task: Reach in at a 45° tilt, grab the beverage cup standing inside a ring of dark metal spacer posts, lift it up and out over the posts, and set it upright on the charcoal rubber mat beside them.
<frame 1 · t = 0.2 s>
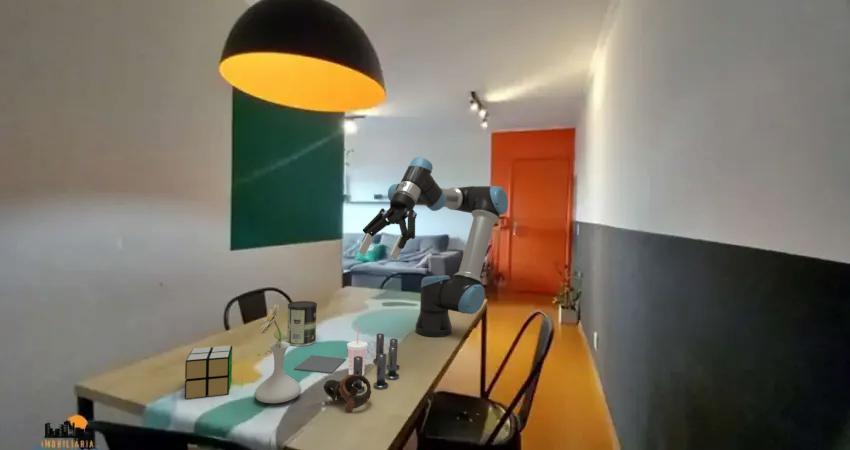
hand: (376, 255, 124), 36 cm above the table, tool tilted 35°, fingers open, 13 cm apart
beverage cup: (356, 374, 125), on the table
flower in vase: (277, 399, 106), on the table
spacer posts: (356, 373, 125), on the table
coffee can: (301, 342, 152), on the table
pottery mug: (347, 404, 105), on the table
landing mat: (321, 364, 131), on the table
puzzle cube: (209, 390, 110), on the table
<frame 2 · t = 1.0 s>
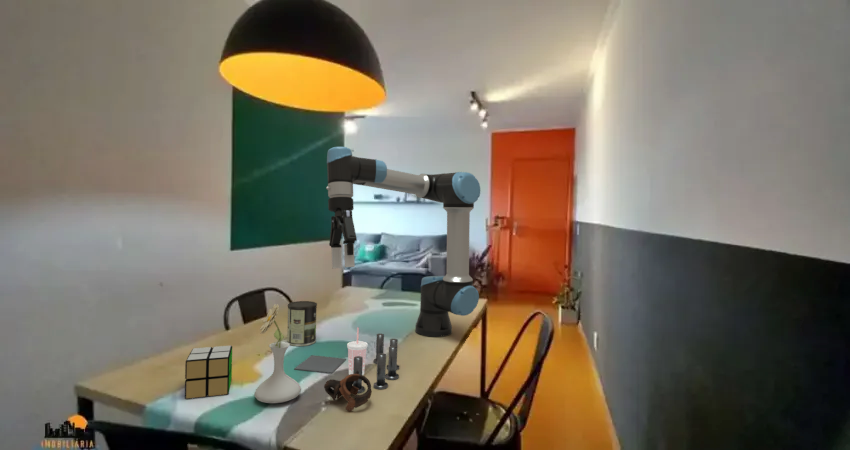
hand: (342, 267, 124), 32 cm above the table, tool pointing down, fingers open, 13 cm apart
nothing on the table moved.
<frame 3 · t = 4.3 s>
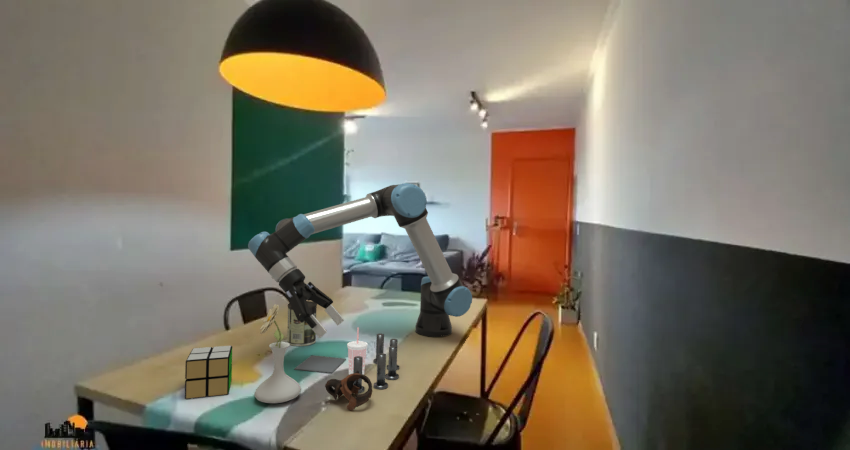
hand: (332, 328, 125), 13 cm above the table, tool tilted 45°, fingers open, 13 cm apart
nothing on the table moved.
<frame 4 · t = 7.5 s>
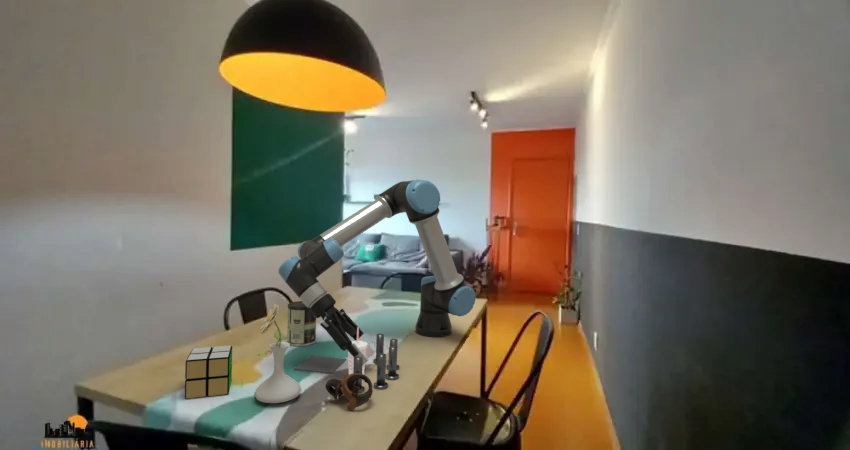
hand: (368, 358, 124), 5 cm above the table, tool tilted 45°, fingers closed on beverage cup, 6 cm apart
beverage cup: (356, 374, 125), on the table, touching gripper
everything else where it was.
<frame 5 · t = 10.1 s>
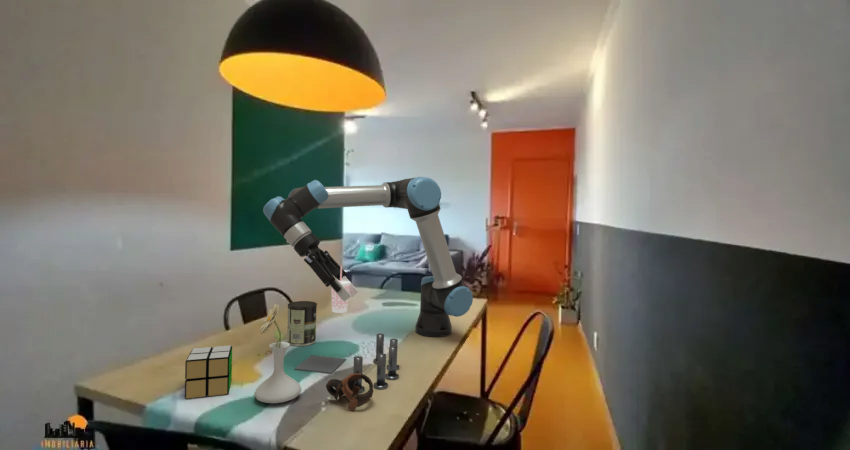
hand: (351, 296, 126), 23 cm above the table, tool tilted 45°, fingers closed on beverage cup, 6 cm apart
beverage cup: (339, 311, 127), point 18 cm above the table, touching gripper
everything else where it was.
when the fingers open (7 cm above the table, at t = 12.6 s): beverage cup drops 1 cm, resting on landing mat.
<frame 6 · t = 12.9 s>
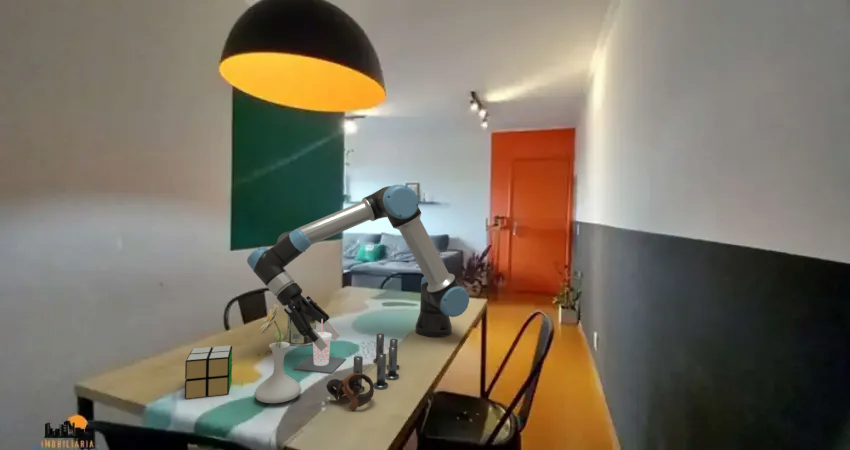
hand: (331, 342, 130), 7 cm above the table, tool tilted 45°, fingers open, 9 cm apart
beverage cup: (321, 363, 131), resting on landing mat
everything else where it was.
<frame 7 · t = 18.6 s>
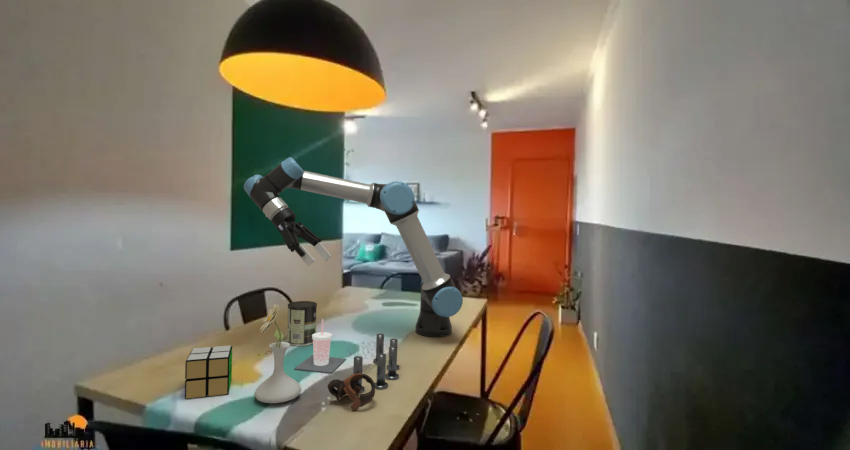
hand: (320, 260, 138), 32 cm above the table, tool tilted 45°, fingers open, 13 cm apart
at the end: beverage cup inside the target area (0.2 cm from its centre), resting on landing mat; beverage cup tilted 0°; the gripper is holding nothing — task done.
